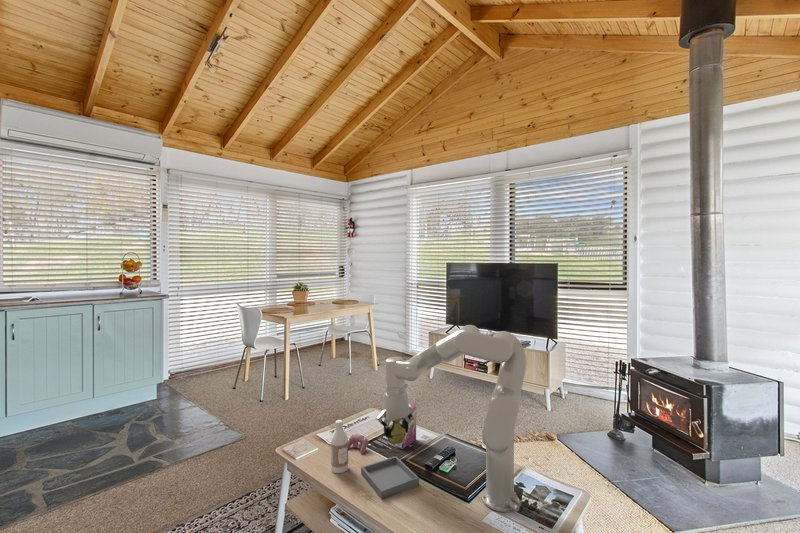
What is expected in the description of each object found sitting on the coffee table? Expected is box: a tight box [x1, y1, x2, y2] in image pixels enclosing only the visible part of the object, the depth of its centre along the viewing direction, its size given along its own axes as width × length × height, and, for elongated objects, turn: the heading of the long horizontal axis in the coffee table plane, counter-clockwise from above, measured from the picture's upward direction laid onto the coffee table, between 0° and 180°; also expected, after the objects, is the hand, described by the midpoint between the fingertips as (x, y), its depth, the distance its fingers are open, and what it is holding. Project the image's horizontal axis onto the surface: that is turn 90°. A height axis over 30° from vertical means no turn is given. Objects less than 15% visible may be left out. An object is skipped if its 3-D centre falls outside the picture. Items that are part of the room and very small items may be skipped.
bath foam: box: [330, 419, 349, 474], centre depth 153 cm, size 7×7×20 cm
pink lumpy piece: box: [348, 434, 370, 455], centre depth 170 cm, size 10×5×7 cm, turn 58°
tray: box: [360, 455, 420, 500], centre depth 146 cm, size 18×16×3 cm
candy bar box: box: [394, 403, 417, 450], centre depth 174 cm, size 11×5×16 cm, turn 144°
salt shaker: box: [386, 418, 406, 445], centre depth 147 cm, size 7×8×10 cm
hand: (396, 433), depth 147 cm, fingers closed on salt shaker, 7 cm apart
